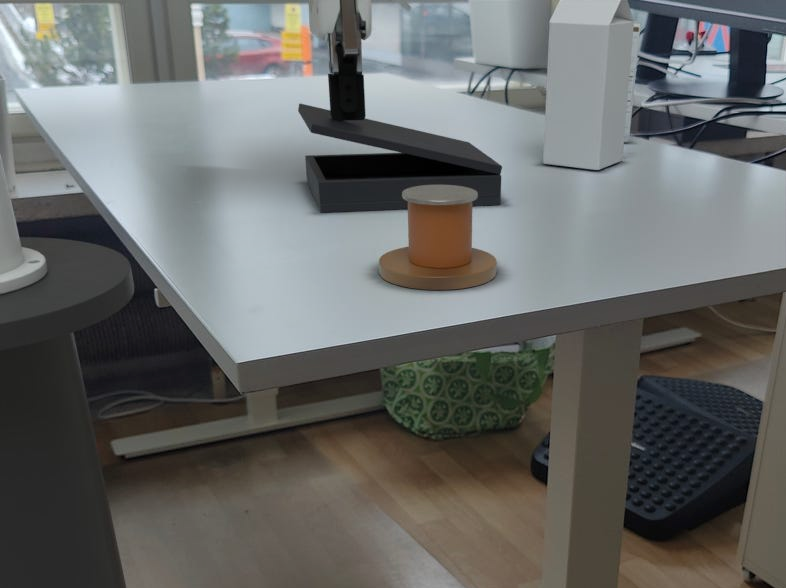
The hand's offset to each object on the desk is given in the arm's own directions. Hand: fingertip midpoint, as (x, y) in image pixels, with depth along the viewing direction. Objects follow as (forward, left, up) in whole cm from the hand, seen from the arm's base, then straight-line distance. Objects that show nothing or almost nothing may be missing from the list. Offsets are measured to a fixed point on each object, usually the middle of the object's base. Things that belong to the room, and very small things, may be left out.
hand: (348, 118), depth 93 cm
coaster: (+3, -28, -7) cm, 29 cm away
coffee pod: (+3, -28, -6) cm, 29 cm away
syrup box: (+37, +27, -8) cm, 46 cm away
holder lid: (+5, 0, -2) cm, 5 cm away
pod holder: (+5, 0, -7) cm, 9 cm away
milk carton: (+29, +12, -8) cm, 32 cm away
